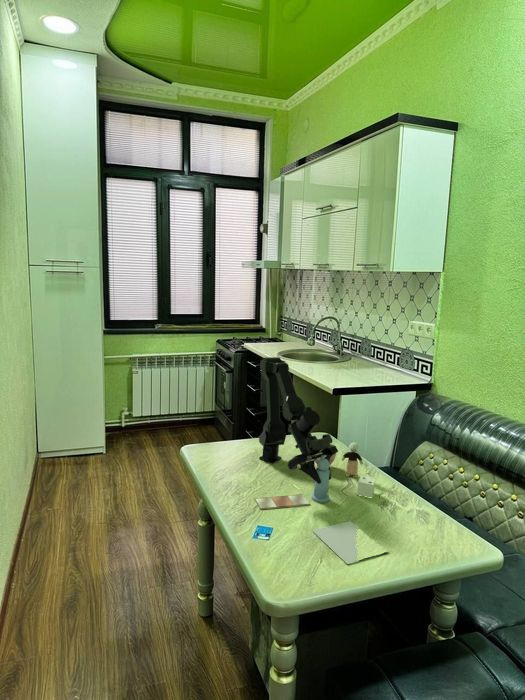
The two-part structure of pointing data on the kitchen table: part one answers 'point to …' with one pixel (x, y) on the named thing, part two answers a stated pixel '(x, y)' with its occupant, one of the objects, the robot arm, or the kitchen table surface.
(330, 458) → the decorative fruit
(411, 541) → the kitchen table surface
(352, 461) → the grandmother figurine
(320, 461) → the pawn
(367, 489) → the die
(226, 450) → the kitchen table surface
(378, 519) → the kitchen table surface
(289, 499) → the board
